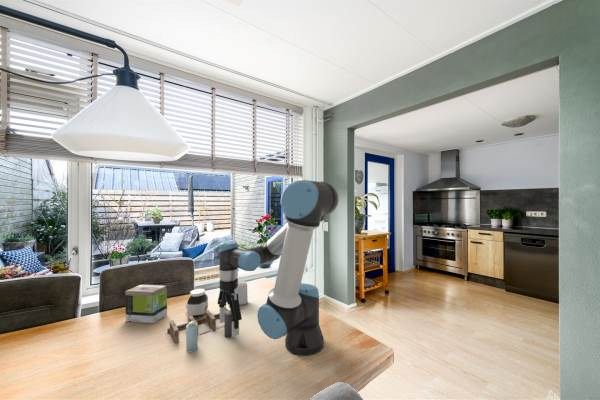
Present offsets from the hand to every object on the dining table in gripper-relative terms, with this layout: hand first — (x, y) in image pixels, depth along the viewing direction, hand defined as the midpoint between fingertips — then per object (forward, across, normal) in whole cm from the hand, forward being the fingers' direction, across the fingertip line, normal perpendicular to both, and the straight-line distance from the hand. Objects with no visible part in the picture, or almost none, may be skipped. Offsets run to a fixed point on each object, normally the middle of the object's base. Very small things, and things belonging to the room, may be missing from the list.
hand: (228, 328), depth 105 cm
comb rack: (+3, +14, +7) cm, 16 cm away
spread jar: (+3, +30, +5) cm, 30 cm away
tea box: (+4, +40, +25) cm, 47 cm away
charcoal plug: (+3, 0, 0) cm, 3 cm away
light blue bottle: (+3, 0, +15) cm, 15 cm away
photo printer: (+3, +26, -16) cm, 30 cm away
